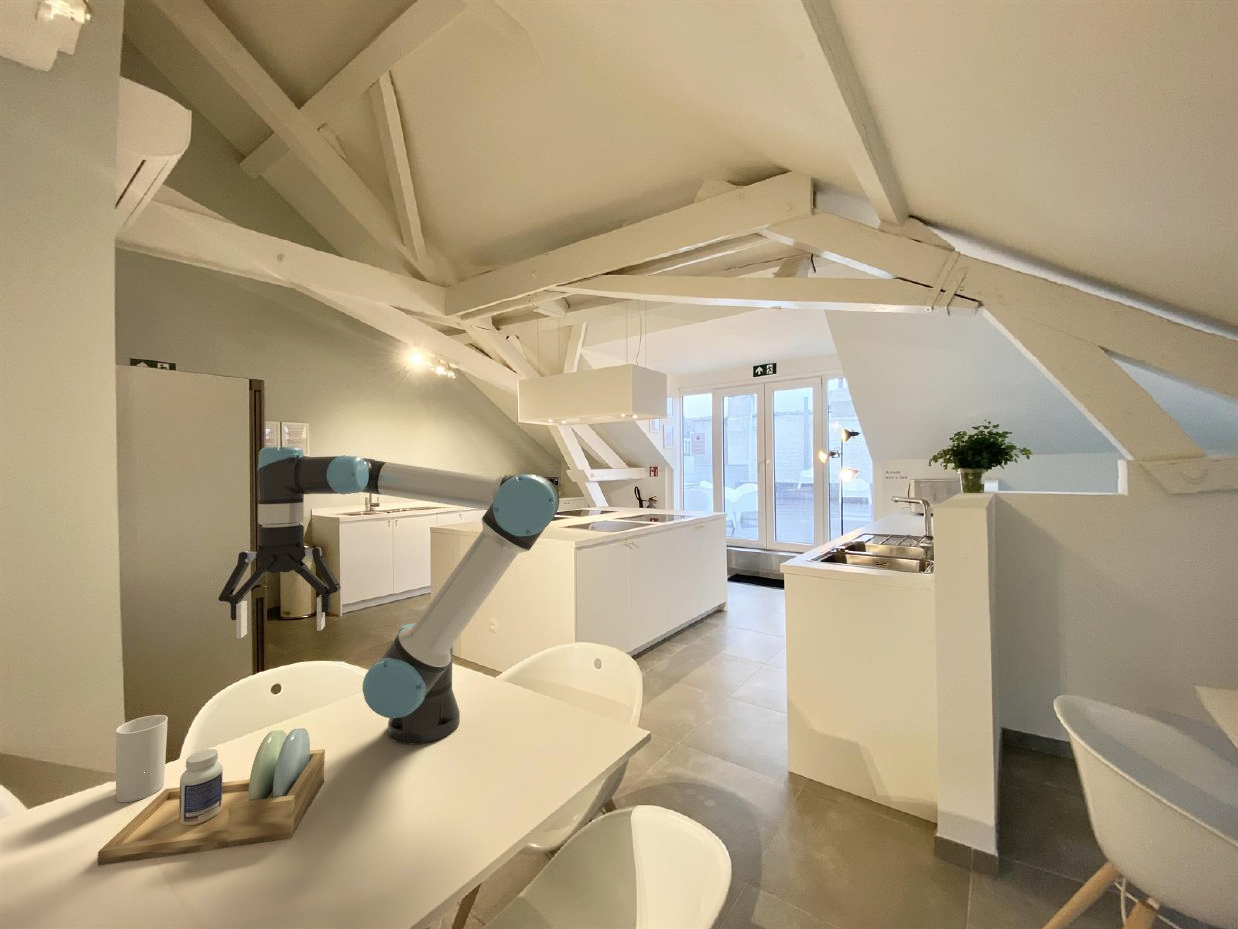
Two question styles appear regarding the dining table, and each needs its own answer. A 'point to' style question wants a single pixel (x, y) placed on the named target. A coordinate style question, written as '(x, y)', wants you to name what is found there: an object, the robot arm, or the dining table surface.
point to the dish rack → (216, 820)
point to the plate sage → (265, 765)
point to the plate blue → (291, 761)
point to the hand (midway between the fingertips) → (282, 632)
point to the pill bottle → (200, 788)
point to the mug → (140, 757)
